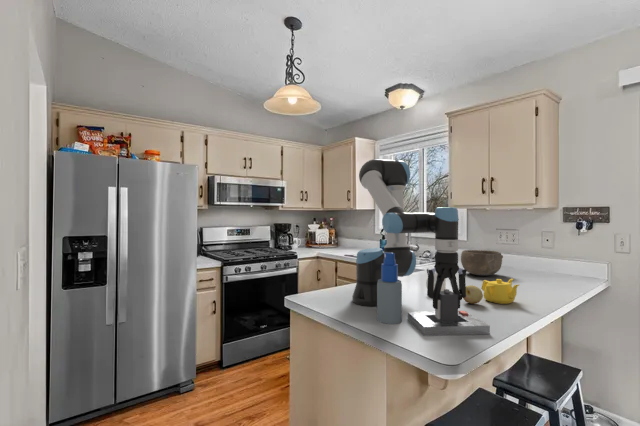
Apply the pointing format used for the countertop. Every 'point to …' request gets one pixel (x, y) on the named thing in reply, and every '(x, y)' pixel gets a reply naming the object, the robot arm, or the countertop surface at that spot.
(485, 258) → the bowl
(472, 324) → the socket plate
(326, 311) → the countertop surface
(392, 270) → the spray bottle
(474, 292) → the fruit
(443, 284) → the mug
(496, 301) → the teapot
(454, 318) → the plug
